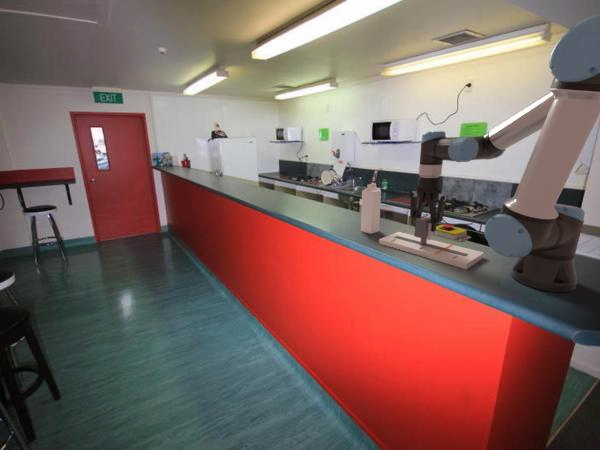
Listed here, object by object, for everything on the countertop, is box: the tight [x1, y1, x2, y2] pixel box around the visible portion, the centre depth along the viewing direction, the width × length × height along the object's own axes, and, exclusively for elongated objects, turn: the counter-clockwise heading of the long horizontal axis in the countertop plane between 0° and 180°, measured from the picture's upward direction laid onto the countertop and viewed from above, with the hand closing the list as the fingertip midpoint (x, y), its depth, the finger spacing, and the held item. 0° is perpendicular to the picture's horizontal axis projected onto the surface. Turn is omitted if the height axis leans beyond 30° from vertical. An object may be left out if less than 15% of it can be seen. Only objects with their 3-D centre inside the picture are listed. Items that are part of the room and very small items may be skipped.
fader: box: [414, 214, 435, 244], centre depth 114 cm, size 4×7×10 cm, turn 130°
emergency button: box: [433, 224, 472, 242], centre depth 131 cm, size 9×4×15 cm
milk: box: [360, 182, 382, 235], centre depth 136 cm, size 6×6×22 cm
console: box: [378, 231, 485, 270], centre depth 115 cm, size 34×14×2 cm, turn 40°
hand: (423, 237), depth 115 cm, fingers closed on fader, 4 cm apart
